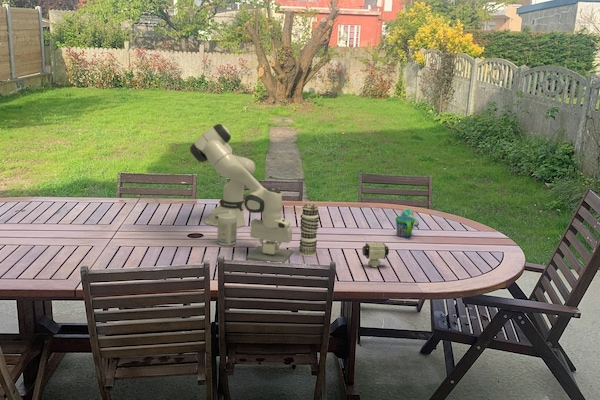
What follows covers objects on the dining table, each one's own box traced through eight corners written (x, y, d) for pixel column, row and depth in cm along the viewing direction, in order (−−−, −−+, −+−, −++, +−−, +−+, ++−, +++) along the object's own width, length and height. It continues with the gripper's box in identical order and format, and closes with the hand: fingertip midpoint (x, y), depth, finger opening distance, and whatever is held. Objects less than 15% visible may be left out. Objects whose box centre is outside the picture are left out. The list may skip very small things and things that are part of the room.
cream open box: (262, 252, 291) (263, 243, 289) (266, 248, 296) (267, 239, 295) (273, 254, 289) (274, 244, 288) (277, 250, 295) (278, 241, 294)
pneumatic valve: (360, 264, 289) (363, 240, 286) (384, 264, 291) (386, 240, 288) (363, 268, 284) (366, 244, 281) (387, 268, 286) (390, 244, 283)
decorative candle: (310, 258, 294) (314, 208, 287) (294, 253, 298) (297, 205, 292) (320, 253, 301) (323, 204, 295) (304, 249, 306) (307, 201, 300)
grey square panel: (246, 259, 287) (247, 247, 285) (258, 247, 304) (258, 236, 302) (282, 264, 283) (283, 252, 281) (292, 252, 300) (293, 240, 298)
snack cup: (391, 231, 344) (393, 213, 342) (409, 231, 345) (411, 214, 342) (396, 239, 329) (398, 222, 327) (415, 240, 330) (417, 222, 327)
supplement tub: (232, 239, 314) (233, 212, 310) (238, 245, 306) (239, 217, 302) (214, 241, 310) (215, 213, 306) (220, 247, 301) (221, 219, 298)
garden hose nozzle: (410, 224, 348) (431, 215, 360) (386, 213, 359) (407, 205, 372) (408, 235, 350) (429, 226, 363) (385, 224, 362) (406, 216, 375)
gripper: (248, 220, 288) (247, 247, 292) (290, 225, 283) (288, 253, 287) (253, 216, 294) (252, 243, 298) (293, 222, 289) (292, 249, 293)
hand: (270, 248), depth 292 cm, fingers closed on cream open box, 6 cm apart
